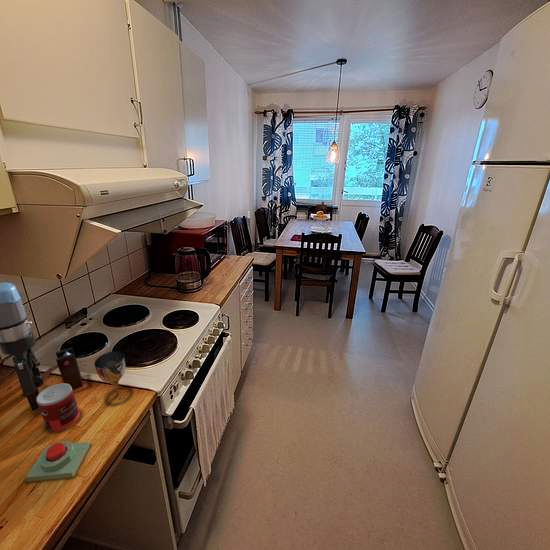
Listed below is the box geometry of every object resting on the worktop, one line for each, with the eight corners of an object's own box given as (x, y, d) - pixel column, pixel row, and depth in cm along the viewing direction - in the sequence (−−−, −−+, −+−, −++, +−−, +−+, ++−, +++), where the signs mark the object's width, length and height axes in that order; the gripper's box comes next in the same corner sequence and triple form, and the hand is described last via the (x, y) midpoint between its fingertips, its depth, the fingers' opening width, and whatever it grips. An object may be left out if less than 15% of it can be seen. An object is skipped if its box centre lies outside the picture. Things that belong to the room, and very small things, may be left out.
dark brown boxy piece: (61, 399, 90) (48, 364, 85) (60, 386, 95) (48, 352, 90) (90, 388, 94) (80, 354, 89) (88, 376, 99) (78, 343, 94)
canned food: (52, 415, 84) (41, 386, 80) (83, 408, 87) (74, 380, 83) (43, 437, 77) (30, 407, 73) (77, 429, 80) (67, 399, 76)
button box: (28, 483, 67) (22, 472, 65) (49, 451, 74) (44, 440, 72) (73, 478, 68) (69, 467, 66) (90, 447, 75) (86, 436, 74)
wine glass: (130, 404, 88) (121, 365, 83) (102, 410, 86) (90, 370, 81) (134, 386, 95) (126, 349, 90) (108, 391, 93) (98, 353, 88)
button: (44, 462, 68) (42, 457, 67) (53, 448, 71) (51, 443, 70) (60, 460, 68) (58, 455, 67) (69, 447, 71) (67, 442, 71)
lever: (35, 392, 86) (24, 387, 84) (35, 385, 89) (25, 380, 87) (75, 360, 90) (65, 354, 88) (74, 355, 93) (65, 349, 91)
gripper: (30, 351, 74) (54, 415, 82) (33, 315, 91) (52, 370, 99) (-9, 363, 70) (20, 428, 78) (2, 322, 87) (24, 379, 95)
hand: (38, 396), depth 89 cm, fingers open, 11 cm apart
